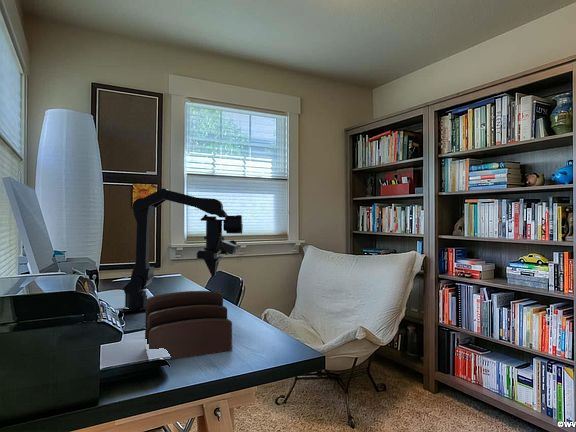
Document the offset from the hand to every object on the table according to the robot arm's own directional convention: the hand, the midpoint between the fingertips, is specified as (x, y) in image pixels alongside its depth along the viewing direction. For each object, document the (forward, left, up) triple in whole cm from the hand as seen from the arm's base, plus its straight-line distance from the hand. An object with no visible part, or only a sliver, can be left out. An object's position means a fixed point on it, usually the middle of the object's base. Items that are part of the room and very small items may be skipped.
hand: (213, 276), depth 136 cm
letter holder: (+8, -42, -12) cm, 44 cm away
